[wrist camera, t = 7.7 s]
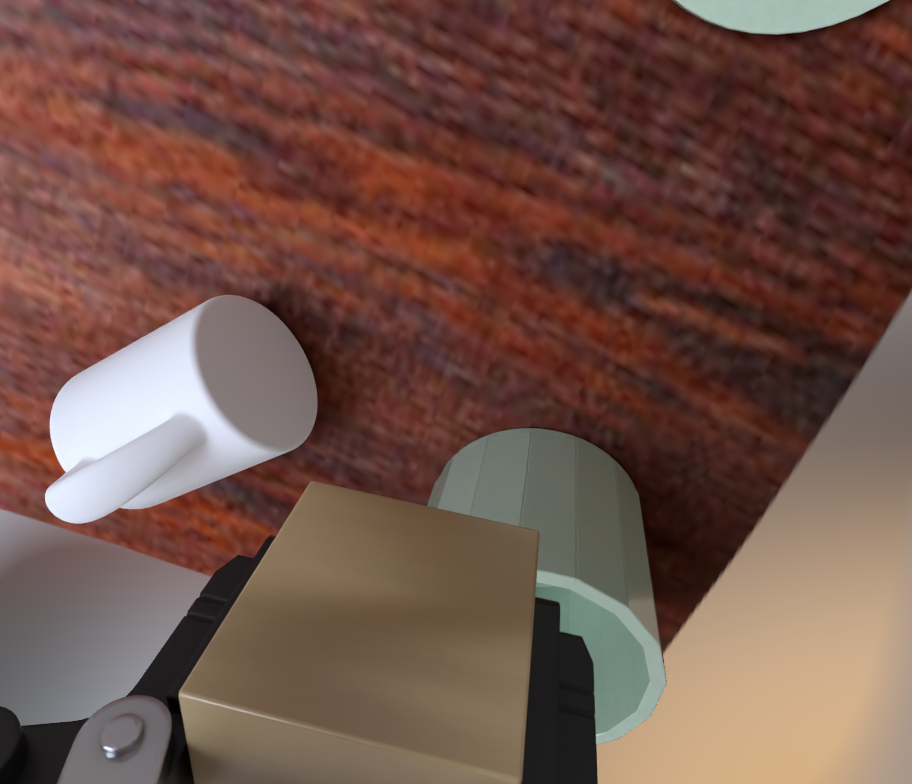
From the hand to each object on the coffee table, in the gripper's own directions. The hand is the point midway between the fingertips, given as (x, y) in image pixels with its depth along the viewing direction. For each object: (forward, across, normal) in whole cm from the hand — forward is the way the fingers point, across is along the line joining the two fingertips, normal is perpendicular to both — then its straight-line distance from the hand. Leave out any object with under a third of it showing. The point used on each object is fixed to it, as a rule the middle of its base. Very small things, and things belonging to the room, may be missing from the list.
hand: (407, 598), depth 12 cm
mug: (+20, +15, +8) cm, 26 cm away
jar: (+20, -4, +14) cm, 24 cm away
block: (0, 0, 0) cm, 0 cm away
